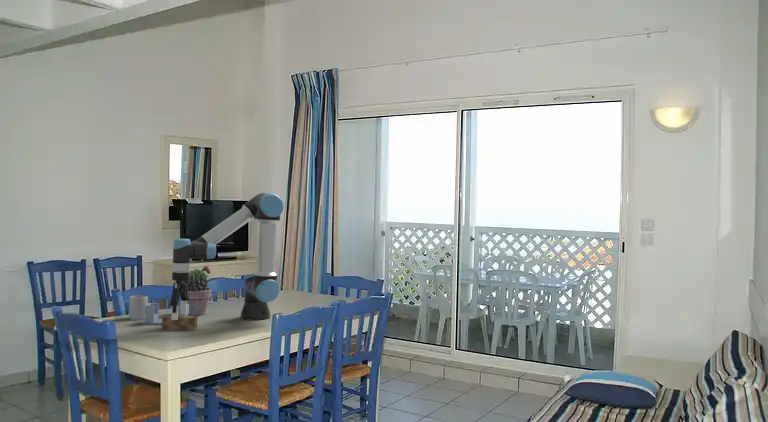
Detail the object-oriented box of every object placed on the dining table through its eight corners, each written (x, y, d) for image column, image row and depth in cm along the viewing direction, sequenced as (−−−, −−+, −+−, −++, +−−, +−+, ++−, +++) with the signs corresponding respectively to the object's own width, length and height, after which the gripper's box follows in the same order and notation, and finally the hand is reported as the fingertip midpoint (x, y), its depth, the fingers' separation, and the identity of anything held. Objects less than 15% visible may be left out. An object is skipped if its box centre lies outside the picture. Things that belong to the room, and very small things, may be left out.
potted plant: (167, 315, 321) (168, 267, 321) (192, 310, 339) (193, 264, 339) (195, 319, 315) (196, 270, 314) (219, 313, 333) (220, 266, 332)
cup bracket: (190, 321, 309) (190, 303, 309) (184, 325, 299) (184, 306, 299) (149, 320, 308) (149, 302, 308) (142, 324, 298) (142, 306, 298)
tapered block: (197, 328, 294) (197, 316, 294) (194, 330, 289) (194, 317, 289) (165, 328, 293) (165, 315, 293) (162, 330, 289) (162, 317, 288)
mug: (140, 320, 308) (140, 298, 308) (125, 319, 310) (125, 297, 310) (154, 316, 320) (155, 294, 320) (140, 315, 322) (140, 293, 322)
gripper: (180, 268, 303) (178, 312, 303) (164, 274, 278) (162, 321, 278) (195, 269, 303) (194, 312, 303) (181, 275, 278) (179, 322, 279)
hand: (179, 317), depth 291 cm, fingers open, 13 cm apart
